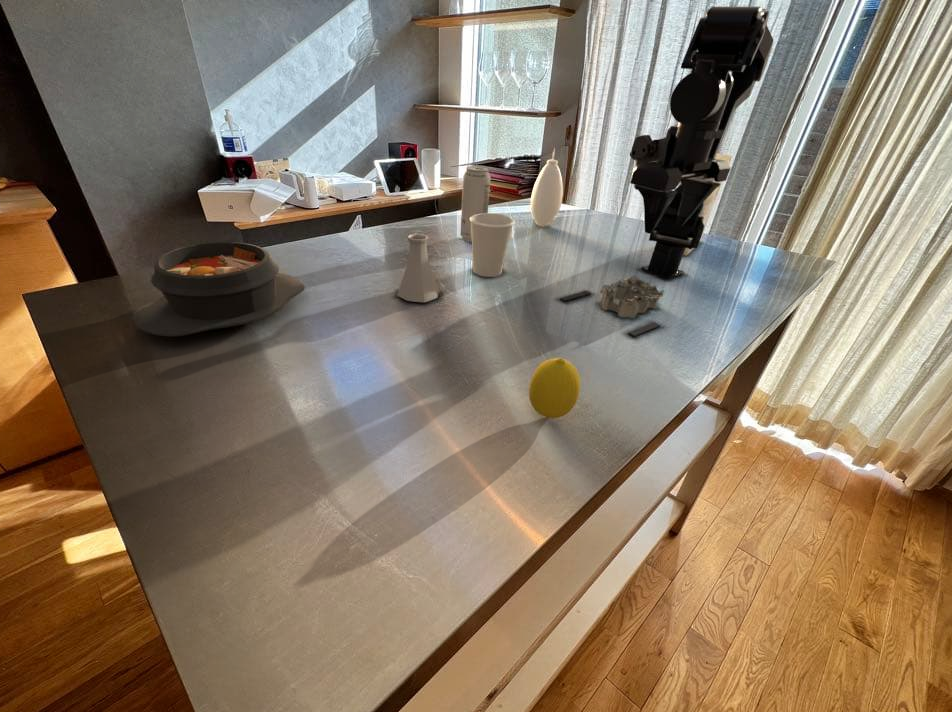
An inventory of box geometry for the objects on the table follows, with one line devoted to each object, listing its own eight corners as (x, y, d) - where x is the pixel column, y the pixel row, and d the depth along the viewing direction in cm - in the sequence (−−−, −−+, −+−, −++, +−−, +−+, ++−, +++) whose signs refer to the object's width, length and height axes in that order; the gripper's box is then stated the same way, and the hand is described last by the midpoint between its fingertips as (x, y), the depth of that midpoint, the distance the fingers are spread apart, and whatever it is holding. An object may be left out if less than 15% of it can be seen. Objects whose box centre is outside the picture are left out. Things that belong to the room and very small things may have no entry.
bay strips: (585, 292, 82) (586, 290, 82) (659, 326, 72) (660, 325, 72) (559, 299, 79) (559, 298, 79) (633, 337, 69) (634, 335, 69)
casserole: (262, 273, 81) (251, 226, 76) (332, 302, 73) (325, 252, 68) (112, 320, 64) (85, 263, 59) (181, 364, 56) (157, 303, 51)
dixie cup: (486, 282, 83) (492, 228, 77) (457, 269, 88) (460, 216, 82) (516, 273, 88) (524, 221, 82) (487, 261, 93) (492, 210, 87)
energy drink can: (461, 234, 107) (465, 164, 98) (486, 236, 106) (492, 167, 97) (458, 241, 102) (461, 169, 93) (484, 244, 102) (490, 171, 92)
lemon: (520, 402, 54) (530, 345, 49) (564, 402, 54) (578, 345, 49) (529, 432, 49) (541, 373, 45) (577, 432, 50) (594, 373, 45)
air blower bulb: (526, 228, 114) (537, 148, 103) (528, 220, 120) (538, 144, 109) (557, 231, 113) (571, 151, 102) (556, 223, 119) (570, 146, 108)
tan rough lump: (627, 321, 73) (634, 298, 71) (591, 304, 78) (597, 282, 76) (663, 307, 79) (671, 285, 76) (628, 292, 83) (635, 271, 81)
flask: (446, 292, 79) (448, 235, 73) (426, 307, 74) (427, 246, 68) (410, 283, 81) (409, 227, 75) (389, 297, 76) (386, 238, 70)
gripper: (684, 113, 75) (655, 210, 84) (615, 114, 66) (591, 223, 75) (750, 121, 68) (709, 226, 78) (683, 124, 59) (646, 243, 68)
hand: (664, 229), depth 75 cm, fingers open, 9 cm apart
